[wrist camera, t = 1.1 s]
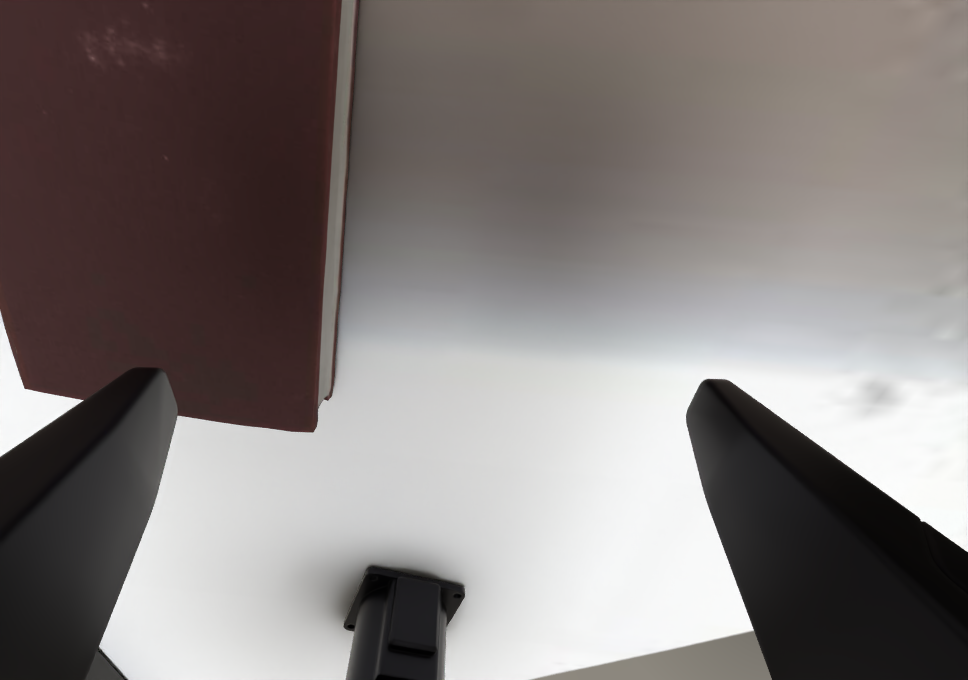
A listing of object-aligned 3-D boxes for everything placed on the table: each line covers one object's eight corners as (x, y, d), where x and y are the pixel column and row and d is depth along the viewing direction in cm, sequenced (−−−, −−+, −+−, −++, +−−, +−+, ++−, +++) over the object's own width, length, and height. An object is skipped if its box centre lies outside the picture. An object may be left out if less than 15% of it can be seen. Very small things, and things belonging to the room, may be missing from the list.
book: (59, 352, 25) (8, 396, 22) (-83, -219, 15) (-206, -269, 12) (334, 391, 27) (319, 436, 24) (371, -102, 17) (352, -123, 14)
